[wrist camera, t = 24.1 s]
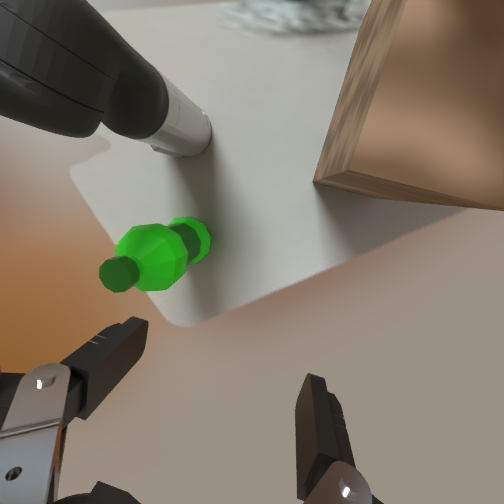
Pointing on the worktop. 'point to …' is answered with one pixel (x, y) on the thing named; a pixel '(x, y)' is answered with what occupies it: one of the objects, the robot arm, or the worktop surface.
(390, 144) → the walnut step stand
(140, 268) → the plastic bottle
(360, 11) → the worktop surface
